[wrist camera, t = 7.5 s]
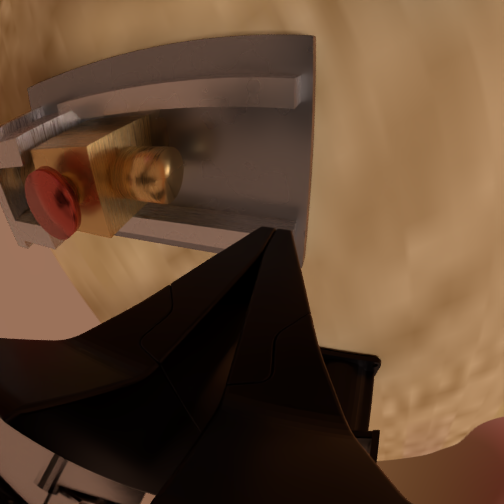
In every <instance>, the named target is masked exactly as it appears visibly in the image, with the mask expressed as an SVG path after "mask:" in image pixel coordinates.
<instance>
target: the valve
mask: <svg viewBox="0 0 504 504" xmlns="http://www.w3.org/2000/svg"><path fill="white" fill-rule="evenodd" d="M30 151H31V155H32V159H33V160H32V161H31V162H29V163H28V164H26V165H24V166H21V167H20V177H21V180H22V182H23V184H24V185H25V195H26V200H27V203H28V205H29V208H30V210H31V212H32V214H33V216H34V217H35V219H36V220H37V222H38V223H39V224H40V226H41V227H42V228H43V229H44V230H45V231H46V232H47V233H49V234H50V235H51V236H53V237H55V238H57V239H60V240H66V239H68V238H69V237H70V236H71V235H72V234H74V233H75V232H76V231H81V232H86V233H90V234H94V235H99V236H103V237H108V238H112V237H113V236H114V235H115V234H116V233H117V232H118V231H119V230H120V229H121V228H122V227H123V226H124V225H125V224H126V223H127V222H128V221H129V220H130V219H131V218H132V217H133V216H134V215H135V214H136V213H137V212H138V211H139V210H140V209H141V208H143V207H144V206H145V205H146V204H147V203H148V202H151V203H159V204H170V203H171V202H173V201H174V200H175V198H176V197H177V195H178V193H179V191H180V188H181V185H182V181H183V173H184V167H183V160H182V156H181V154H180V152H179V151H178V150H177V149H176V148H174V147H160V146H152V140H151V132H150V124H149V116H148V115H134V116H120V117H108V118H98V119H90V120H87V121H84V122H82V123H80V124H78V125H76V126H74V127H72V128H70V129H68V130H66V131H64V132H62V133H60V134H58V135H57V136H55V137H53V138H51V139H49V140H47V141H46V142H44V143H42V144H40V145H38V146H37V147H35V148H33V149H32V150H30Z"/></svg>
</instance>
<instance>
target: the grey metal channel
mask: <svg viewBox="0 0 504 504" xmlns="http://www.w3.org/2000/svg"><path fill="white" fill-rule="evenodd" d="M315 78H316V37H315V36H311V35H246V36H230V37H219V38H209V39H201V40H193V41H186V42H180V43H174V44H168V45H162V46H157V47H152V48H148V49H143V50H139V51H134V52H130V53H126V54H122V55H118V56H115V57H111V58H108V59H104V60H101V61H98V62H94V63H91V64H88V65H85V66H82V67H79V68H76V69H73V70H71V71H68V72H65V73H62V74H60V75H57V76H55V77H52V78H50V79H47V80H45V81H43V82H40V83H38V84H36V85H33V86H31V87H29V88H27V90H28V95H29V101H30V106H31V111H30V112H27V113H25V114H23V115H21V116H19V117H17V118H15V119H13V120H11V121H9V122H7V123H5V124H3V125H2V126H0V204H1V207H2V209H3V212H4V214H5V216H6V219H7V221H8V223H9V225H10V228H11V230H12V232H13V234H14V237H15V239H16V241H17V243H18V245H19V246H22V247H24V248H29V247H30V246H31V245H32V244H33V243H35V244H38V245H41V246H45V247H48V248H52V249H56V248H57V247H58V246H60V245H61V244H62V243H63V242H64V241H65V240H60V239H57V238H55V237H53V236H51V235H50V234H49V233H47V232H46V231H45V230H44V229H43V228H42V227H41V226H40V224H39V223H38V222H37V220H36V219H35V217H34V216H33V214H32V212H31V210H30V208H29V205H28V203H27V200H26V195H25V185H24V184H23V182H22V180H21V177H20V167H21V166H24V165H26V164H28V163H29V162H31V161H32V160H33V159H32V155H31V151H30V150H32V149H33V148H35V147H37V146H38V145H40V144H42V143H44V142H46V141H47V140H49V139H51V138H53V137H55V136H57V135H58V134H60V133H62V132H64V131H66V130H68V129H70V128H72V127H74V126H76V125H78V124H80V123H82V122H84V121H87V120H90V119H98V118H108V117H120V116H134V115H148V116H149V124H150V132H151V140H152V146H160V147H174V148H176V149H177V150H178V151H179V152H180V154H181V156H182V160H183V167H184V173H183V181H182V185H181V188H180V191H179V193H178V195H177V197H176V198H175V200H174V201H173V202H171V203H170V204H159V203H151V202H148V203H147V204H146V205H145V206H144V207H143V208H141V209H140V210H139V211H138V212H137V213H136V214H135V215H134V216H133V217H132V218H131V219H130V220H129V221H128V222H127V223H126V224H125V225H124V226H123V227H122V228H121V229H120V230H119V231H118V232H117V233H116V234H115V235H116V236H122V237H127V238H133V239H139V240H144V241H150V242H156V243H161V244H167V245H173V246H178V247H184V248H190V249H195V250H201V251H207V252H213V253H220V252H221V251H223V250H224V249H226V248H228V247H229V246H231V245H232V244H234V243H235V242H237V241H239V240H240V239H242V238H243V237H245V236H247V235H248V234H250V233H251V232H253V231H255V230H256V229H258V228H259V227H261V226H265V227H272V228H275V229H276V230H277V229H286V230H291V231H292V234H293V238H294V242H295V246H296V250H297V254H298V259H299V263H300V267H301V268H302V266H303V262H304V258H305V251H306V240H307V229H308V217H309V204H310V191H311V176H312V159H313V140H314V116H315Z"/></svg>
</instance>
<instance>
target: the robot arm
mask: <svg viewBox="0 0 504 504" xmlns="http://www.w3.org/2000/svg"><path fill="white" fill-rule="evenodd" d="M380 366H381V360H380V359H379V358H374V357H367V356H360V355H353V354H347V353H340V352H334V351H328V350H323V349H320V348H319V345H318V341H317V337H316V333H315V329H314V325H313V320H312V316H311V312H310V307H309V302H308V298H307V293H306V289H305V285H304V280H303V276H302V271H301V267H300V263H299V259H298V254H297V250H296V246H295V242H294V238H293V234H292V231H291V230H286V229H277V230H276V229H275V228H272V227H265V226H261V227H259V228H258V229H256V230H255V231H253V232H251V233H250V234H248V235H247V236H245V237H243V238H242V239H240V240H239V241H237V242H235V243H234V244H232V245H231V246H229V247H228V248H226V249H224V250H223V251H221V252H220V253H218V254H216V255H215V256H213V257H212V258H210V259H209V260H207V261H205V262H204V263H202V264H201V265H199V266H198V267H196V268H194V269H193V270H191V271H190V272H188V273H187V274H185V275H184V276H182V277H180V278H179V279H177V280H176V281H174V282H173V283H171V286H170V285H168V286H166V287H165V288H163V289H162V290H160V291H159V292H157V293H155V294H154V295H152V296H150V297H149V298H147V299H146V300H144V301H142V302H141V303H139V304H137V305H135V306H133V307H132V308H130V309H128V310H126V311H124V312H123V313H121V314H119V315H117V316H115V317H113V318H111V319H109V320H107V321H106V322H104V323H102V324H100V325H98V326H96V327H94V328H92V329H91V330H89V331H87V332H85V333H83V334H81V335H79V336H76V337H73V338H70V339H66V340H56V341H53V340H49V341H48V340H25V339H7V338H0V504H141V502H142V500H143V498H144V496H145V494H146V493H150V494H152V495H156V496H155V498H154V499H153V500H152V502H151V503H150V504H413V503H411V502H410V501H408V500H407V499H406V498H405V497H404V496H403V495H402V494H401V493H400V491H399V490H398V489H397V488H396V487H395V485H394V484H393V483H392V482H391V481H390V479H389V478H388V477H387V476H386V475H385V474H384V472H383V471H382V470H381V469H380V467H379V466H378V465H377V464H376V462H377V454H378V445H379V435H380V430H373V431H368V428H369V421H370V413H371V404H372V395H373V384H374V376H375V375H376V373H377V371H378V370H379V368H380Z"/></svg>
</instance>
